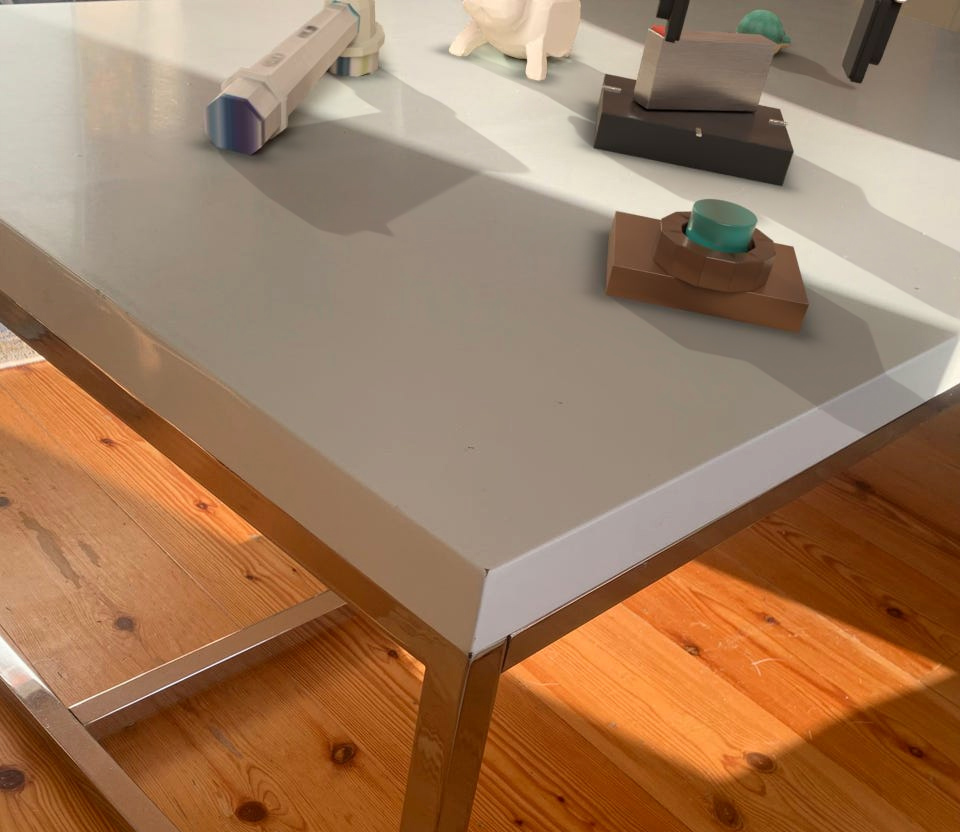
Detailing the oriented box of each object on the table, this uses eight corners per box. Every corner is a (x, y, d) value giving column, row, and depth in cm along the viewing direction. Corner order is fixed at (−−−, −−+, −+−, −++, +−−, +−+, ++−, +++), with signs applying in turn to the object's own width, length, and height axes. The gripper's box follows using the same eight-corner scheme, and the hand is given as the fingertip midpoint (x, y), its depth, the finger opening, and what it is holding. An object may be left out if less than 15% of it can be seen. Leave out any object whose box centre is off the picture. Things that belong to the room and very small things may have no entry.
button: (745, 235, 64) (755, 206, 63) (750, 261, 61) (760, 231, 60) (683, 223, 64) (692, 193, 63) (685, 248, 61) (694, 217, 60)
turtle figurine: (720, 45, 113) (732, 5, 111) (745, 35, 118) (756, -4, 116) (774, 62, 111) (787, 22, 109) (797, 51, 116) (809, 12, 114)
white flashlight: (190, 84, 68) (331, -47, 85) (196, 185, 72) (329, 42, 90) (272, 104, 67) (397, -31, 84) (273, 204, 72) (391, 57, 89)
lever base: (766, 134, 92) (778, 95, 90) (783, 197, 81) (798, 154, 79) (596, 100, 92) (605, 60, 90) (590, 158, 81) (600, 114, 79)
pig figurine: (483, 75, 102) (418, 37, 89) (513, -23, 100) (450, -78, 86) (568, 102, 100) (514, 67, 86) (600, 2, 98) (551, -50, 84)
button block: (782, 279, 69) (803, 218, 67) (797, 345, 62) (822, 279, 60) (607, 244, 69) (622, 181, 67) (603, 306, 62) (620, 238, 60)
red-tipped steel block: (740, 102, 87) (761, 30, 84) (756, 112, 86) (778, 40, 83) (631, 99, 83) (649, 24, 80) (646, 109, 82) (665, 33, 78)
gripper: (693, -407, 45) (595, 38, 56) (1112, -317, 45) (935, 112, 56) (690, -395, 51) (603, 5, 62) (1061, -316, 51) (910, 72, 62)
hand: (761, 56), depth 59 cm, fingers open, 9 cm apart
